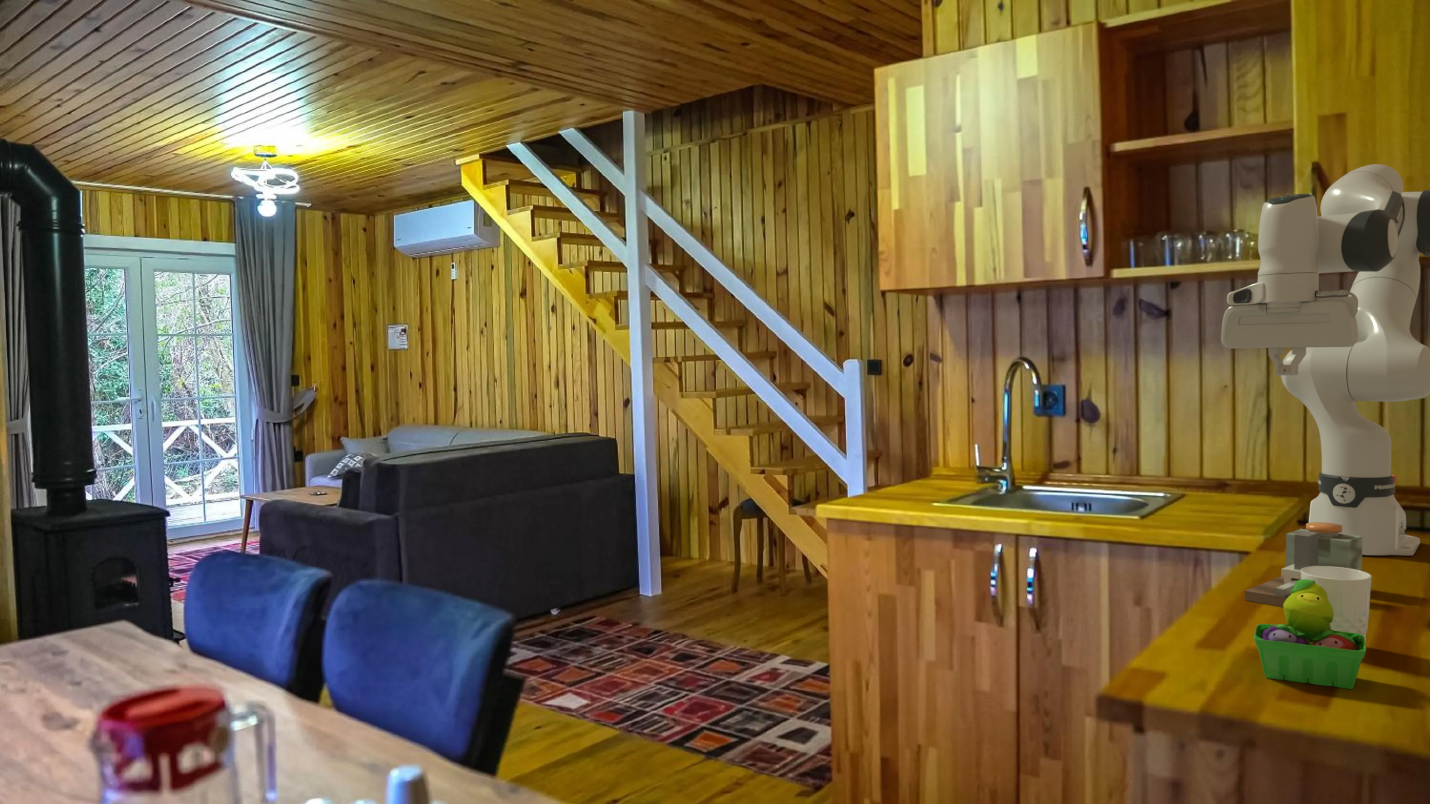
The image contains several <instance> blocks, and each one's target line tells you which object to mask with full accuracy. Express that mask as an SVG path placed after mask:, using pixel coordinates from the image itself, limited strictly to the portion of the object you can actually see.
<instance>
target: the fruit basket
mask: <svg viewBox="0 0 1430 804" xmlns="http://www.w3.org/2000/svg"><path fill="white" fill-rule="evenodd" d="M1290 592H1291V595H1290V596H1289V597H1288V598H1287V599H1286V601H1285V602H1284V605H1283V612H1284V616H1285V619H1286V623H1287V624H1285V623H1282V624H1281V623H1280V624H1270V623H1259V624H1256V626H1255V631H1254V635H1253V640H1254V643H1255V645H1256V646H1257V651H1258V655H1259V657H1260V662H1261V665H1262V666H1261V667H1262V670H1263V673H1264V676H1265V678H1266V679H1273V680H1281V681H1283V680H1284V681H1288V682H1295V683H1303V684H1311V685H1317V686H1326V687H1334V688H1340V689H1345V690H1346V689H1348V690H1354V687H1355V683H1356V680H1357V677H1358V673H1359V670H1360V667H1361V664H1362V660H1363V659H1364V658H1365V655H1366V652H1367V647H1366V642H1365V636H1364V635H1361V634H1358V633H1350V632H1341V631H1334V630H1331V627H1330V623H1331V622H1332V620H1333V617H1334V611H1333V608H1332V606H1331V603H1330V602H1329V600H1328V596H1327V593H1326V591H1325V590H1324V588H1322V587H1321V586H1320V585H1318V584H1316V583H1315V581H1314V580H1309V579H1301V580H1298V581H1297V582H1296V583H1295V585H1294V587H1293V589H1292V590H1291V591H1290Z"/></svg>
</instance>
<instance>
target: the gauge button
mask: <svg viewBox="0 0 1430 804" xmlns="http://www.w3.org/2000/svg"><path fill="white" fill-rule="evenodd" d="M1305 529H1306V530H1309V532H1316V533H1319V537H1325V538H1336V537H1338V536H1339V533H1340V532H1342V526H1341V525H1338V524H1333V523H1322V522H1312V523H1309V522H1306V523H1305Z"/></svg>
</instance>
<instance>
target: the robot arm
mask: <svg viewBox="0 0 1430 804" xmlns="http://www.w3.org/2000/svg"><path fill="white" fill-rule="evenodd" d="M1403 182H1404V181H1403V179H1402V177H1401V175H1400V174H1399V173H1398V171H1397V170H1395V169H1394V168H1393V167H1391V166H1388V165H1386V164H1381V163H1380V164H1378V163H1373V164H1367V165H1364V166H1361V167H1358V168H1355V169H1353V170H1351V171H1349V172H1348V173H1346V174H1344V175H1343V176H1342V177H1340V178H1339V179H1337V180H1336V181H1335V182H1334V183H1332V184H1331V185H1330V186H1329V187H1328V188H1327V190H1326V191H1325V193H1324V194H1323V196H1322V199H1321V201H1320V210H1319V211H1320V216H1319V215H1318V208H1317V201H1316V198H1315V195H1313V194H1309V193H1295V194H1294V193H1293V194H1289V195H1288V194H1287V195H1282V196H1275V197H1272V198H1269V199H1268V200H1266V201H1265V202H1264V203H1263V204H1262V208H1261V212H1260V217H1259V225H1258V236H1257V240H1258V241H1257V251H1258V254H1259V258H1260V260H1259V261H1260V264H1259V269H1258V272H1257V282H1256V283H1253V284H1251V285H1248V286H1245V287H1242V288H1239V289H1237V290H1234V291H1231V292H1229V293H1228V294H1227V296H1226V302H1227V304H1228V305H1229V307H1227V309H1226V310H1225V312H1224V314H1223V317H1222V322H1221V323H1222V324H1221V333H1220V334H1221V339H1220V340H1221V344H1222V345H1223V346H1224V347H1225V349H1268V354H1267V355H1268V357H1269V358H1270V359H1271V361H1272V363H1273V364H1274V366H1275V375H1276V376H1280V377H1281V378H1280V379H1281V381H1282V384H1283V385H1284V388H1285V389H1286V390H1287V391H1288V392H1289V393H1290V395H1292V396H1294V397H1295V398H1297V399H1298V400H1299V402H1301V403H1302V405H1304V406H1305V407H1306V409H1308V411H1309V412H1310V414H1311V415H1312V417H1313V420H1314V421H1315V423H1316V425H1317V428H1318V431H1319V432H1318V433H1319V439H1320V451H1321V452H1320V453H1321V471H1320V472H1319V473H1318V480H1317V484H1318V491H1319V494H1318V496H1316V497H1315V498H1313V499H1312V500H1311V501H1310V503H1309V504H1310V506H1309V514H1308V515H1309V516H1308V523H1312V522H1322V523H1333V524H1338V525H1341V526H1342V532H1340V534H1348V535H1357V536H1362V556H1414V554H1415V553H1416V551H1417V549H1418V547H1419V545H1420V544H1421V539H1420V537H1417V536H1413V535H1408V534H1407V516H1406V511H1405V510H1404V509H1403V507H1402V506H1401V505H1400V503H1399V502H1398V501H1397V499H1396V497H1395V494H1396V485H1397V481H1398V477H1397V475H1396V474H1392V438H1391V435H1390V433H1389V432H1388V431H1387V430H1386V429H1385V427H1383V426H1382V425H1380V424H1378V423H1377V422H1375V421H1374V420H1373V421H1372V420H1371V419H1368V418H1366V417H1364V416H1363V415H1362V414H1361V413H1360V411H1359V409H1358V407H1357V406H1358V405H1357V402H1358V401H1359V402H1383V403H1384V402H1386V403H1387V402H1388V403H1399V402H1405V401H1413V400H1420V399H1426V398H1427V397H1428V396H1430V348H1429V346H1427V345H1425V344H1422V343H1421V342H1419V341H1418V340H1417V339H1416V338H1414V336H1413V335H1412V333H1411V330H1410V329H1411V320H1412V317H1413V312H1414V308H1415V305H1416V302H1417V299H1418V295H1419V290H1420V283H1421V265H1420V255H1422V254H1423V256H1425V257H1429V256H1430V189H1424V190H1423V191H1404V183H1403ZM1345 272H1347V273H1348V272H1357V274H1356V277H1355V278H1354V280H1353V282H1352V285H1351V288H1350V290H1348V289H1338V290H1319V289H1320V288H1319V287H1320V286H1319V282H1320V281H1319V278H1320V276H1319V274H1328V273H1345ZM1283 348H1284V349H1286V348H1291V350H1289V352H1288V353H1287V354H1286V355H1285V356H1284V358H1283V360H1282V358H1281V357H1280V356H1281V355H1282V354H1283Z"/></svg>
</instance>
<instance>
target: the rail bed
mask: <svg viewBox="0 0 1430 804" xmlns="http://www.w3.org/2000/svg"><path fill="white" fill-rule="evenodd" d="M1304 531H1308V532H1309V530H1306V528H1305V529H1303V528H1299V529H1297V530H1294V531H1291V532H1288V533H1285V541H1286V542H1285V543H1286V544H1285V545H1286V546H1285V567H1287V566H1290V565H1292V564H1294V540H1295V534H1298V533H1301V532H1304ZM1318 566H1332V567H1343V568H1350V569H1355V570H1360V571H1363V568H1362V567H1363V555H1362V536H1357V535H1348V534H1340V533H1339V536H1338V537H1336V538H1325V537H1319V545H1318ZM1298 580H1301V579H1296V580H1294V581H1291V582H1289V583H1286V584H1284V577H1282V576H1281V575H1280V576H1278V577H1276V578H1273V579H1272V580H1271V579H1270V580H1269V581H1266V582H1264V583H1261V584H1258V585H1256V586H1254V587H1250V588H1249V589H1246V590H1244V600H1245V601H1247V602H1251V603H1252V602H1254V603H1260V604H1263V605H1270V606H1277V607H1283V605H1284V602H1285V601H1286V599H1287V598H1288V597H1289V596H1290V595H1291V592H1290V591H1291V590H1292V589H1293V587H1294V585H1295V583H1296V582H1297V581H1298Z"/></svg>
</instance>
